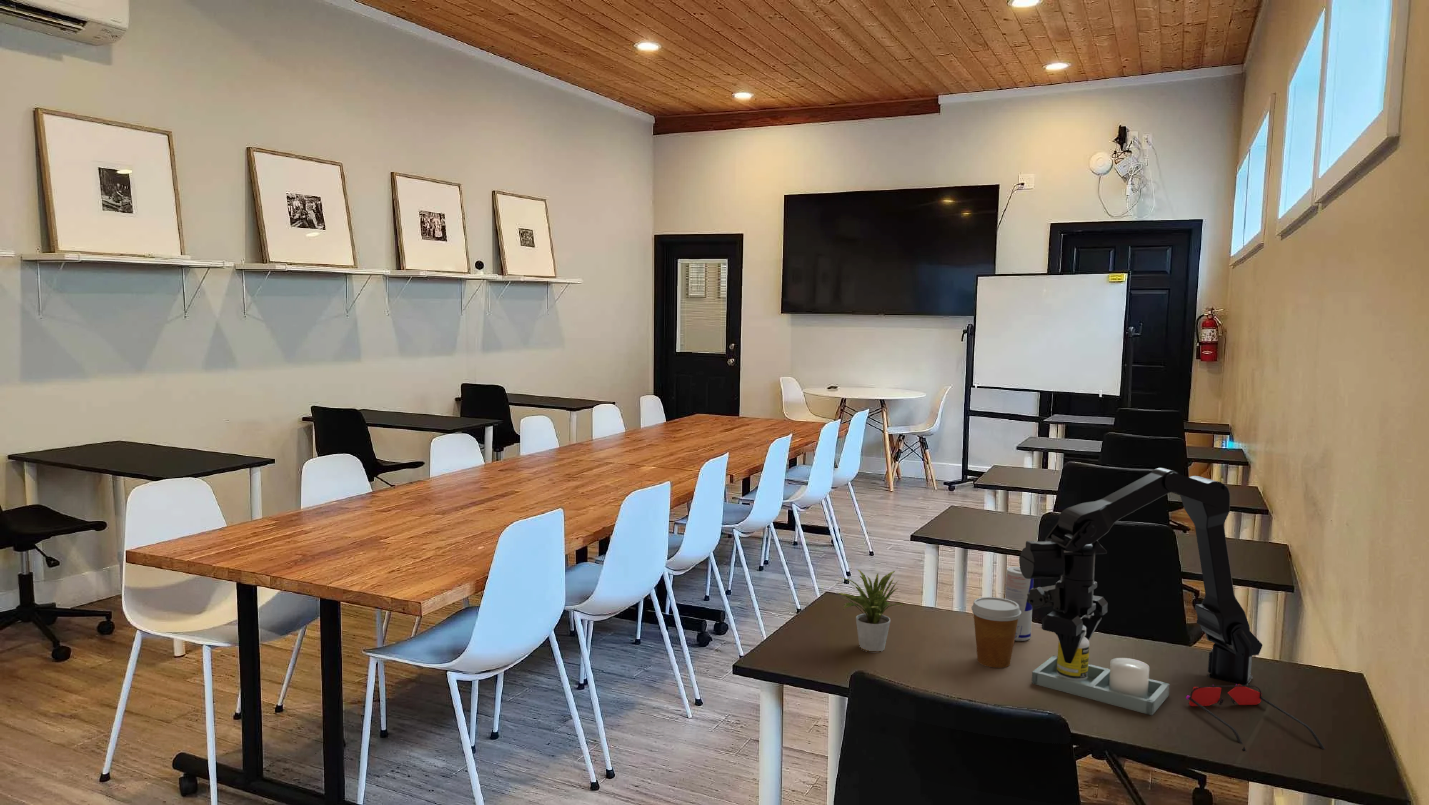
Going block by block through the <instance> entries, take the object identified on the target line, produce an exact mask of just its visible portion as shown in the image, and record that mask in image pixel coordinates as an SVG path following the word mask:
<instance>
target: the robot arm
mask: <svg viewBox="0 0 1429 805" xmlns="http://www.w3.org/2000/svg"><path fill="white" fill-rule="evenodd" d="M1170 493H1172V494H1174V495H1177V496H1179V497H1180V500H1181V502H1182V506H1183V509H1184V511H1185V512H1186V514H1187V515H1188V517H1189V518H1190V520H1191V521H1192V523H1193V525H1194V528H1195V535H1196V543H1197V549H1198V554H1199V561H1200V568H1201V575H1202V581H1203V586H1204V594H1205V596H1204V598H1203V600H1202V602H1201V603H1197V604H1195V606H1194V610H1195V613H1196V617H1197V618H1196V624H1197V625H1199V626H1200V629H1201V630H1202V632H1204V633H1205V637H1206V639H1207V641H1209V642H1212V643H1213V645H1212V649H1211V650H1210V651H1209V652H1208V664H1207V673H1209V674H1208V678H1209V679H1210V678H1211V679H1214V680H1218V681H1224V682H1227V683H1231V684H1235V685H1236V684H1237V685H1238V684H1240V685H1250V682H1251V681H1252V680H1251V679H1253V678H1254V677H1253V674H1252V673H1251V672H1252V662H1253V661H1252V660H1253V656H1259V655H1260V653H1261V651H1262V648H1263V644H1262V642H1261V641H1260V640H1259V639H1258V638H1257V637H1256V636H1255V634H1254V633H1253V632H1251V627H1250V623H1249V620H1248V616H1247V614H1246V612H1245V610H1244V608H1243V607H1242V605H1241V604H1240V602H1239V600H1238V599H1237V597H1236V596H1235V592H1234V591H1235V590H1234V584H1233V578H1232V570H1231V565H1230V556H1229V551H1228V543H1227V536H1226V531H1225V522H1226V521H1227V519H1228V516H1229V515H1230V514H1229V513H1230V510H1231V492H1230V490H1229V487H1228V486H1227V485H1225V484H1224V483H1223V482H1221V481H1218V480H1214V479H1211V478H1206V477H1203V476H1198V475H1192V476H1186V475H1183V474H1180V473H1179V472H1178V471H1175V470H1173V469H1172V470H1171V469H1169V468H1168V469H1167V468H1165V467H1158V468H1155V469H1153V470H1151V471H1150V473H1148V474H1146V475H1144V476H1143V477H1141V478H1139V479H1137V480H1135V481H1133V482H1131V483H1129V484H1128V485H1126V486H1123V487H1122V488H1119V489H1118V490H1116V491H1115V492H1112V493H1110V494H1108V495H1106V496H1105V497H1102V498H1101V499H1097V500H1095V501H1094V500H1093V501H1086V502H1082V503H1078V504H1076V505H1072V506H1069V507H1067V508H1065V509H1063V510H1062V511H1061V512H1060V514H1059V517H1058V520H1057V522H1056V524H1055V525H1054V526H1053V527H1052V529H1051V530H1050V531H1049V533H1048V534H1047V535H1046V537H1045V538H1044V539H1045V540H1044V541H1035V540H1026V541H1025V546H1024V547H1023V549H1021V552H1020V555H1019V556H1018V563H1019V564H1018V565H1019V566H1018V567H1020V570H1021V573H1022V575H1023V576H1024V577H1025V578H1026V579H1035V580H1036V579H1058V578H1059V577H1060V579H1059V580H1058V581H1057V582H1055V584H1054V585H1053V584H1052V585H1047V586H1042V587H1041V586H1038V587H1033V588H1032V589H1030V591H1029V593H1028V594H1027V596H1028V599H1027V602H1028V603H1030V605H1032V610H1039V609H1040V608H1046V607H1053V610H1052V611H1051V612H1049V613H1048V614H1047V615H1045V616H1044V617H1042V618H1041V630H1043V631H1046V632H1051V633H1054V634H1055V635H1056V636H1057V638H1058V642H1060V645H1061V649H1062V653H1063V656H1064V660H1065V662H1066V663H1072V661H1073V659H1074V656H1075V654H1076V652H1077V650H1078V647H1079V645H1080V643H1081V640H1082V638H1083V636H1084V634H1085V630H1082V628H1083V625H1084V626H1085V627H1086V635H1085V636H1084V637H1086V638H1087V639H1088V640H1089V641H1090V640H1091V638H1092V636H1093V634H1094V632H1095V630H1096V629H1097V627H1098V625H1099V624H1100V622H1101V621H1102V617H1101V616H1104V615H1106V614H1107V613H1108V607H1109V603H1108V601H1107V599H1105V598H1104V596H1099V595H1094V590H1095V589H1097V588H1098V582H1097V581H1095V564H1096V555H1106V554H1107V553H1108V551H1107V550H1106V549H1105V548H1104V546H1102V545H1101V544H1100V542H1099V540H1100V539H1101V538H1102V537H1104V536H1105V535H1106V534H1108V533H1109V532H1110V530H1111V528H1112V527H1113V526H1114V524H1115V523H1116V522H1118V521H1119V520H1121V519H1122V518H1125V517H1126V516H1128V515H1130V514H1132V513H1135V511H1137V510H1140V509H1141V508H1143V507H1145V506H1147V505H1149V504H1152V503H1153V502H1154V501H1156V500H1158V499H1160V498H1162V497H1164V496H1166V495H1168V494H1170ZM1065 537H1067V538H1069V539H1070V540H1069V539H1067V538H1065ZM1094 611H1098V613H1099V616H1098V615H1095V612H1094Z"/></svg>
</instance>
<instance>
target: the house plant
mask: <svg viewBox="0 0 1429 805" xmlns="http://www.w3.org/2000/svg"><path fill="white" fill-rule="evenodd" d="M856 570H857V571H858V572H859V577H860V579H861V580H862V582H863V586H864V589H865V591H866V593H867V594H866V593H865V592H864V590H863V589H862V587H861V586H859V585H858V584H857V582H855V581H853V580H852V579H849V578H845V577H840V576H839V578H840V579H843V580H847V583H849V584H850V583H851V586H853V587H855V589H856V590H857V591H858V593H859V595H856V596H855V595H853V594H850V593H844V592H837V594H838V595H840V596H843V597H844V599H845V600H847V601H849V602H845V603H844V604H843V607H844V608H843V609H847V608H850V607H854V606H855V608H856V609H858V610H859V611H860V612H861V614H857V615H856V616H855V622H856V628H857V637H858V645H860V646H859V648H860V647H861V648H863V649H866V650H869V651H881V652H883V650H884V651H885V647H886V643H887V638H888V634H889V631H890V630H889V629H890V624H891V618H890V617H889V616H887V615H885V614H884V612H885V611H886V610H888V609H889V608H890V607H892V606H896V605H900V606H903V603H894V604H891V602H889V601H888V600H890V599H891V596H892V594H894V592H896V591H897V590H898V589H899V587H897V588H895V586H896V584H898V582H899V580H897V581H896V582H895V583H894V584H893V582H894V579H895V576H893V578H892V579H891V577H892V575H893V574H894V573H895V572H896V570H893V571H890V572H889V573H887V574H885V575H884V576H883V577H882V578H880V581H879V573H876V575H875V579H874V581H873V582H872V580H871V578H870V577H869V576H867V575H865V573H863V572H862V571H861V570H860V569H858V568H856ZM867 579H868V580H867ZM890 579H891V580H890ZM848 581H849V582H848ZM853 584H854V585H853ZM887 584H888V585H887ZM892 584H893V585H892ZM894 588H895V589H894ZM889 589H890V590H889ZM888 591H889V592H888ZM840 599H842V597H840ZM859 607H860V608H859ZM861 609H862V610H861Z"/></svg>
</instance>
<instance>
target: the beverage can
mask: <svg viewBox="0 0 1429 805" xmlns="http://www.w3.org/2000/svg"><path fill="white" fill-rule="evenodd" d="M1034 582H1035V581H1034V579H1026V578H1025V577H1024V576H1023V575H1022V573H1021V570H1020V566H1009V567H1007V568H1006V572H1005V591H1004V592H1005V593H1004V599H1008V600H1011V601H1014V602H1016V603H1017V604H1018V605H1019V609H1020V611H1021V615H1020V617H1019V618H1018V623H1017V629H1016V634H1015V640H1014V642H1016V641H1017V642H1026V641H1029V639H1031V638H1032V621H1033V620H1032V619H1033V618H1032V617H1033V609H1032V605H1030V603H1028V602H1027V599H1028V596H1027V594H1028V593H1029V591H1030V589H1032V588H1034Z"/></svg>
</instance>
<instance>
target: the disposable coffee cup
mask: <svg viewBox="0 0 1429 805" xmlns="http://www.w3.org/2000/svg"><path fill="white" fill-rule="evenodd" d="M972 603H973V604H972V605H971V606H970V607H971V611H972V614H973V625H974V635H975V636H974V637H975V645H976V657H977V662H978V663H979V664H981V665H983V666H986V667H989V668H995V669H997V668H998V669H1002V668H1003V669H1004V668H1007V667H1010V665H1011V662H1012V661H1011V660H1012V656H1013V650H1014V644H1015V634H1016V629H1017V623H1018V618H1019V617H1020V615H1021V611H1020V609H1019V605H1018V604H1017V603H1016V602H1014V601H1011V600H1008V599H1005V597H1004V598H1003V597H994V596H984V597H979V598H976V599H974V600H973V602H972Z"/></svg>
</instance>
